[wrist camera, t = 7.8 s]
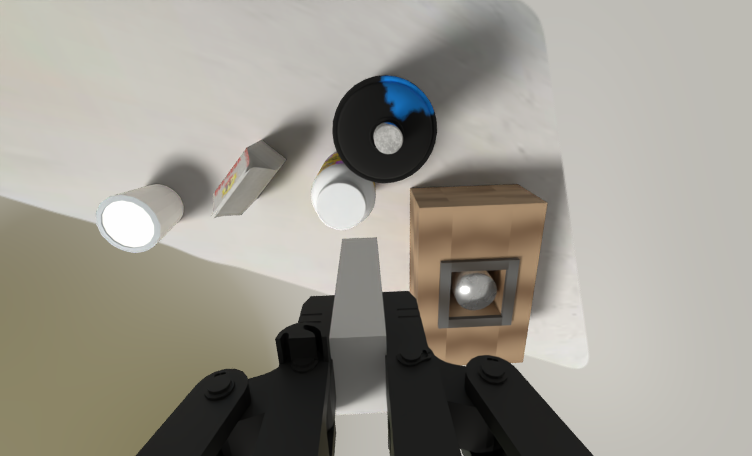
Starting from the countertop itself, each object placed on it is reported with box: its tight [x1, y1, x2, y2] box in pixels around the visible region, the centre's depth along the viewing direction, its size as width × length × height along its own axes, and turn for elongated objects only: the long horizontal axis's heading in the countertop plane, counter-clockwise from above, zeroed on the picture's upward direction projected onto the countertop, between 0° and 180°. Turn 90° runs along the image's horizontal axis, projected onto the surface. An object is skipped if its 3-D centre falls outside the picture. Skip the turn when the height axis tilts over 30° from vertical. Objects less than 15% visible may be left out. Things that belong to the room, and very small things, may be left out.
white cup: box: [96, 184, 184, 253], centre depth 42 cm, size 7×7×7 cm
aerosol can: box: [332, 75, 437, 183], centre depth 33 cm, size 8×8×20 cm
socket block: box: [410, 184, 547, 365], centre depth 46 cm, size 22×14×9 cm, turn 2°
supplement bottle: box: [311, 152, 376, 230], centre depth 39 cm, size 7×7×13 cm
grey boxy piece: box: [211, 140, 287, 218], centre depth 40 cm, size 4×7×10 cm, turn 139°
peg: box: [451, 271, 497, 310], centre depth 47 cm, size 5×5×8 cm
